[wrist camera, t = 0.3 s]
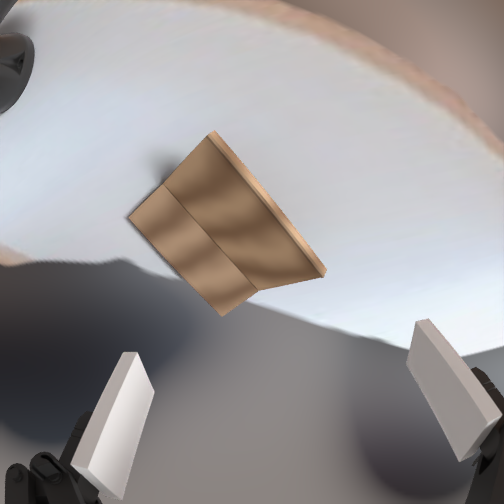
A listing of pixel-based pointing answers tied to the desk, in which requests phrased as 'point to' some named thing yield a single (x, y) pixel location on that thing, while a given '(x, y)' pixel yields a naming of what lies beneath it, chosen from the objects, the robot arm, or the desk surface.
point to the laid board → (192, 251)
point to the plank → (242, 217)
